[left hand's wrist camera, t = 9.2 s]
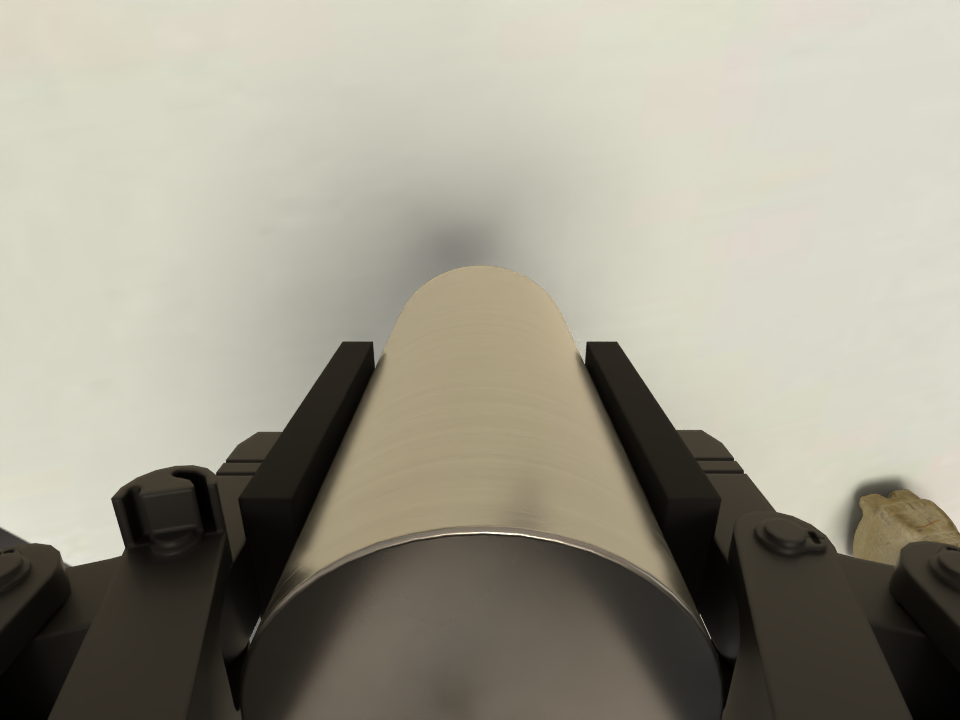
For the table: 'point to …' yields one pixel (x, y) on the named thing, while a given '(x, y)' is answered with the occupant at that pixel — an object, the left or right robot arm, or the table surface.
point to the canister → (481, 541)
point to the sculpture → (899, 525)
